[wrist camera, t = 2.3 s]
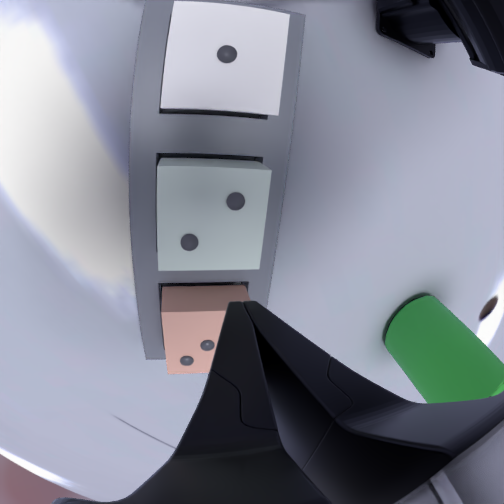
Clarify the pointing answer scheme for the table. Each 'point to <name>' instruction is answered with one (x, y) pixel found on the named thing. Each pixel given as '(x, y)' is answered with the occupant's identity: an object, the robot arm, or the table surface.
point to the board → (203, 142)
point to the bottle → (442, 354)
